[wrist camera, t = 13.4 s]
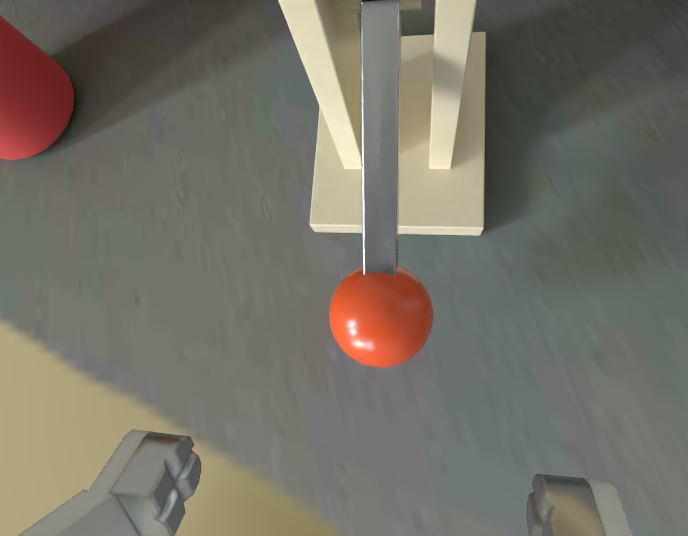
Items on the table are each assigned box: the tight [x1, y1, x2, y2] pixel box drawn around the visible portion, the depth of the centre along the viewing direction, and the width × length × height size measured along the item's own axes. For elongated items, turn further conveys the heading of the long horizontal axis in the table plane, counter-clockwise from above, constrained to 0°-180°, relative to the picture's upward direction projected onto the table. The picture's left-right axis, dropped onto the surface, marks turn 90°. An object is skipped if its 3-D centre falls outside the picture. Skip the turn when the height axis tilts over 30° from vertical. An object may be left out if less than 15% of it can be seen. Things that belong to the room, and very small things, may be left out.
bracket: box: [279, 0, 486, 235], centre depth 17 cm, size 10×8×13 cm
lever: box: [329, 0, 433, 367], centre depth 14 cm, size 14×4×4 cm, turn 175°
